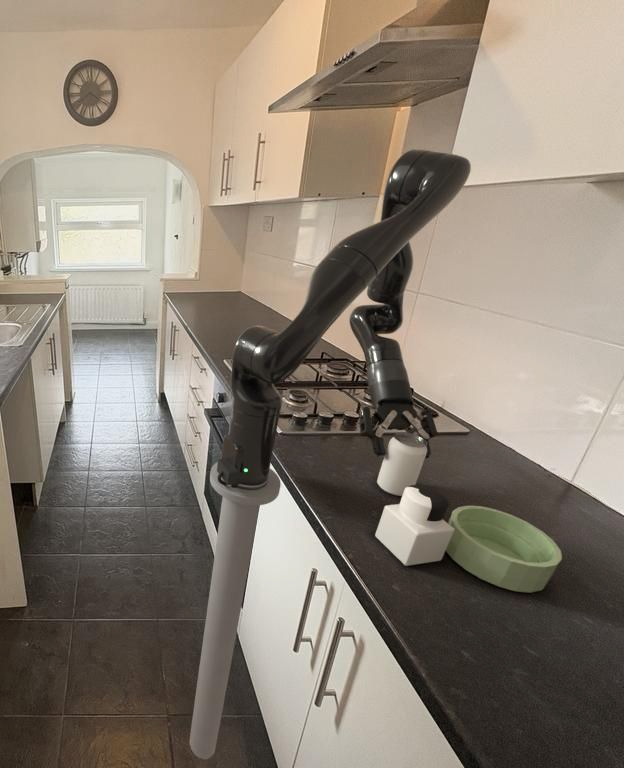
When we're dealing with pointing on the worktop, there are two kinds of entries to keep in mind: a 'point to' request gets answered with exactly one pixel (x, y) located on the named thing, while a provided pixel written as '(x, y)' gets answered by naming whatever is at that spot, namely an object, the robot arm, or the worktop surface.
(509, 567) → the shallow round dish
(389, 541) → the medicine bottle
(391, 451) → the can
